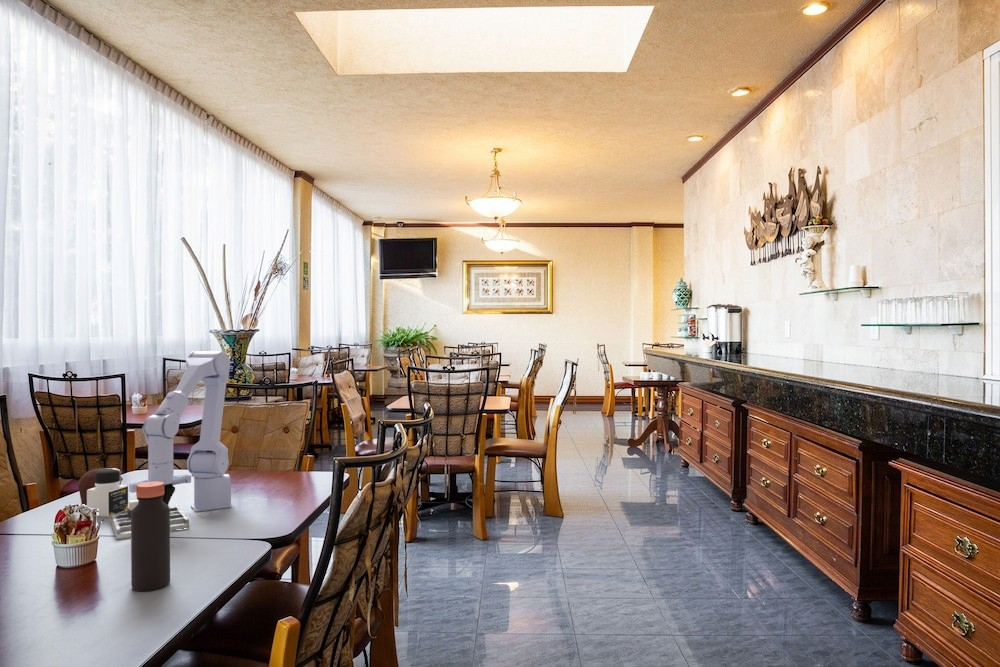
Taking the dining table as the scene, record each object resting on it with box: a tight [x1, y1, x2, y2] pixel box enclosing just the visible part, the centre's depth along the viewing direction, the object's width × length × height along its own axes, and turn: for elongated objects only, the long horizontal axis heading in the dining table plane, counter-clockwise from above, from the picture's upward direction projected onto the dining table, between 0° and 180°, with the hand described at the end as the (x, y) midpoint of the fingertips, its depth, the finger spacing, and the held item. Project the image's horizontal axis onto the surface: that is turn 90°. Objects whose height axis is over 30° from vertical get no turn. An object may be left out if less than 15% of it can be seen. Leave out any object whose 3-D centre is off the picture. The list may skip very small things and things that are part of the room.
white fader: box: [126, 499, 138, 518], centre depth 176 cm, size 3×3×4 cm
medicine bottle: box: [87, 467, 129, 518], centre depth 186 cm, size 7×7×12 cm
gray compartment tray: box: [110, 504, 190, 540], centre depth 175 cm, size 16×18×2 cm
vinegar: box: [130, 481, 171, 592], centre depth 134 cm, size 7×7×20 cm
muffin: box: [76, 467, 124, 505], centre depth 196 cm, size 12×11×10 cm
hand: (161, 515), depth 172 cm, fingers closed
